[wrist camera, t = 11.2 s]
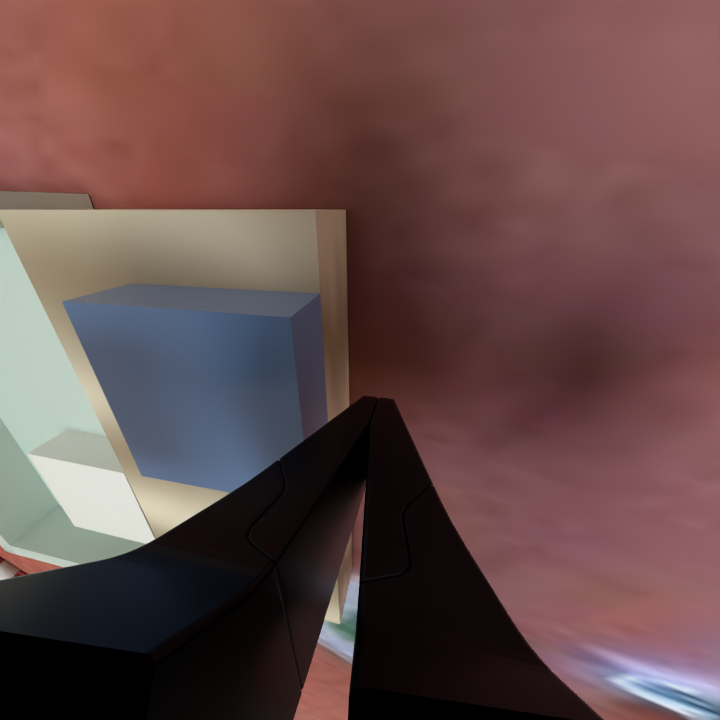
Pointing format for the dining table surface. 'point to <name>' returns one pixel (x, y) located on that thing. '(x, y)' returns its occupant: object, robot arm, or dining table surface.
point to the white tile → (92, 485)
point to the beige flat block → (195, 269)
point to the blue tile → (206, 376)
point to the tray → (39, 411)
